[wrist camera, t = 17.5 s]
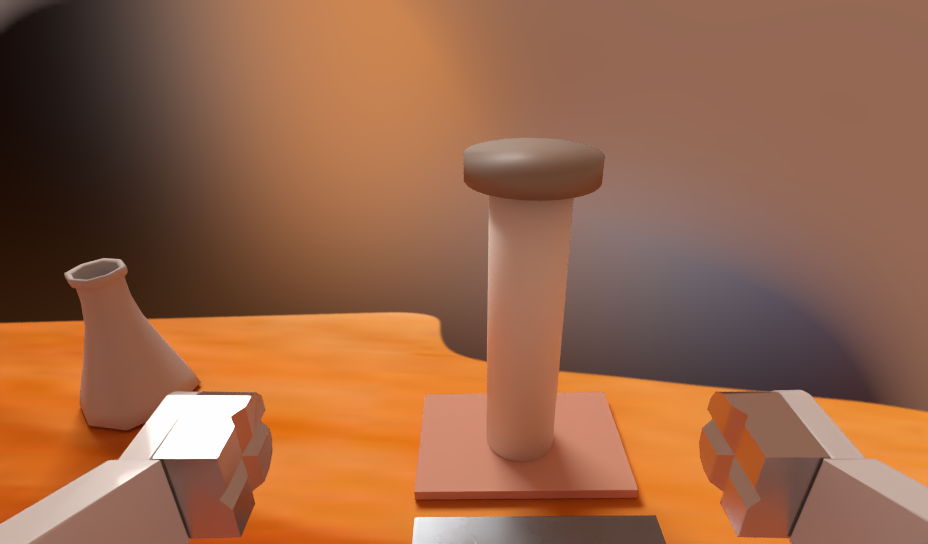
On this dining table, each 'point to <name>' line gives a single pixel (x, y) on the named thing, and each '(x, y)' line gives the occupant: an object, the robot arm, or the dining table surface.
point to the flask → (122, 351)
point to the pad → (493, 477)
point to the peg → (527, 279)
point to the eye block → (538, 530)
